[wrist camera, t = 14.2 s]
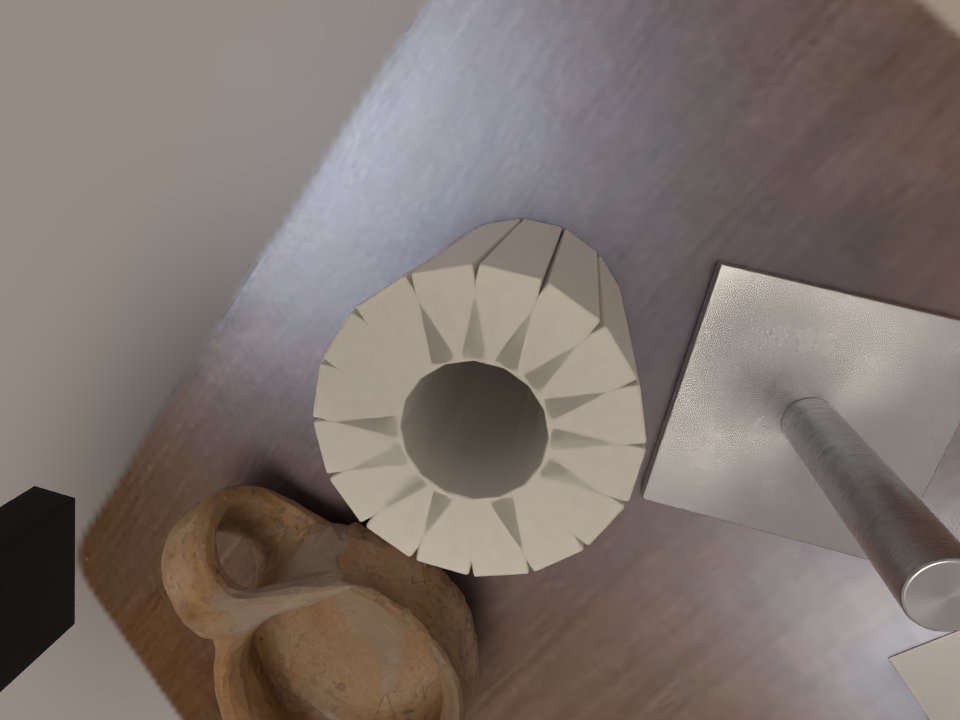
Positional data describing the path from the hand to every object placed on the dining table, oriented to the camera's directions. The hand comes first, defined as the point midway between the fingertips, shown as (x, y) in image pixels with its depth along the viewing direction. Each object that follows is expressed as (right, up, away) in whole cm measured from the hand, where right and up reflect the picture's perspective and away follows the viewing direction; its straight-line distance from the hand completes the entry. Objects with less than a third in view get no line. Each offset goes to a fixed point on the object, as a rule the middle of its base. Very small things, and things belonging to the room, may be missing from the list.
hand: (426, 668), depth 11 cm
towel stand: (+16, +3, +20) cm, 26 cm away
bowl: (-7, -8, +27) cm, 29 cm away
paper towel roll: (+3, +7, +21) cm, 22 cm away
